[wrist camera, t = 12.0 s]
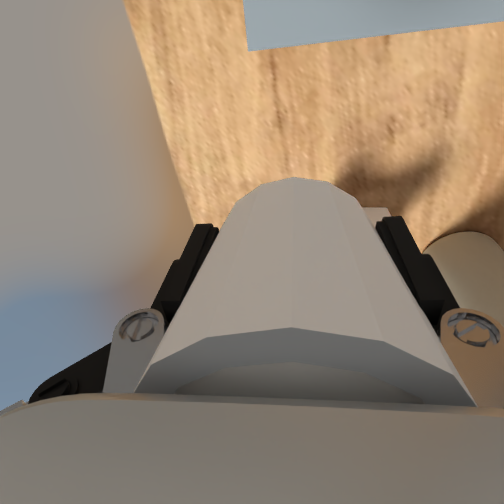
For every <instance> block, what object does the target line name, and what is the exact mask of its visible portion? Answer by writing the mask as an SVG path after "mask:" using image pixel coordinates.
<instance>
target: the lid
mask: <svg viewBox="0 0 504 504" xmlns="http://www.w3.org/2000/svg"><path fill="white" fill-rule="evenodd" d="M243 4H244V14H245V24H246V34H247V44H248V51H256V50H264V49H273V48H281V47H290V46H298V45H307V44H315V43H324V42H332V41H340V40H349V39H357V38H366V37H374V36H383V35H391V34H400V33H408V32H417V31H425V30H433V29H442V28H450V27H459V26H467V25H476V24H484V23H493V22H501V21H504V0H243Z"/></svg>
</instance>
